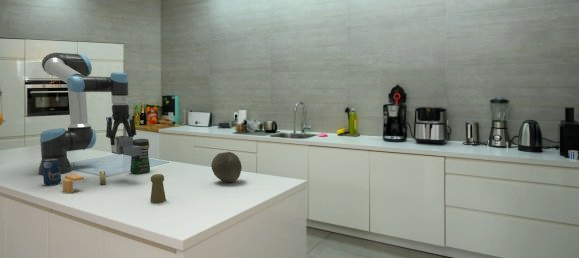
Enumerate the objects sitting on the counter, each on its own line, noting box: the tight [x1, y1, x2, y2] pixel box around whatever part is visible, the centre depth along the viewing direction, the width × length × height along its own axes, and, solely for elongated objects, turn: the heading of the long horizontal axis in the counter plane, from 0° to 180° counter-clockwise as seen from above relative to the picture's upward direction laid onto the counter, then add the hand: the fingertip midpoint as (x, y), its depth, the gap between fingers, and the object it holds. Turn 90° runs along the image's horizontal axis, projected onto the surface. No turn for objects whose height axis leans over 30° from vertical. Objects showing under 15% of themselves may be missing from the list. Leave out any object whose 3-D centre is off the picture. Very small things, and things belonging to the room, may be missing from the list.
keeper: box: [61, 173, 85, 194], centre depth 162 cm, size 9×6×6 cm, turn 55°
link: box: [110, 135, 142, 157], centre depth 177 cm, size 16×7×8 cm, turn 55°
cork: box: [150, 173, 167, 204], centre depth 147 cm, size 6×6×11 cm
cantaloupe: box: [210, 151, 243, 183], centre depth 177 cm, size 14×14×15 cm
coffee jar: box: [130, 138, 151, 175], centre depth 197 cm, size 10×8×19 cm
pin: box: [99, 171, 107, 186], centre depth 173 cm, size 2×2×6 cm
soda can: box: [42, 158, 62, 187], centre depth 172 cm, size 7×7×12 cm
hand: (122, 150), depth 180 cm, fingers closed on link, 7 cm apart
